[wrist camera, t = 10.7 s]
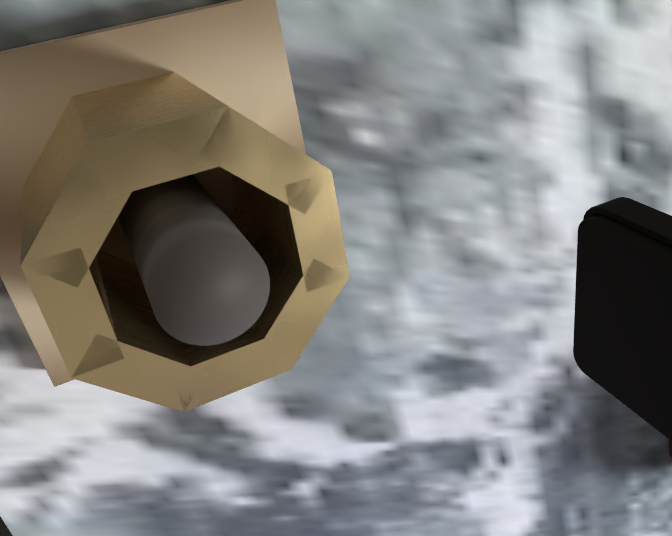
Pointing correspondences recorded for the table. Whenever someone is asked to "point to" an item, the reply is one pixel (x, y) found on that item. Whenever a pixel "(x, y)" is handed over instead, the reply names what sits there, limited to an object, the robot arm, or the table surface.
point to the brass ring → (123, 277)
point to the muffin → (670, 447)
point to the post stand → (165, 198)
